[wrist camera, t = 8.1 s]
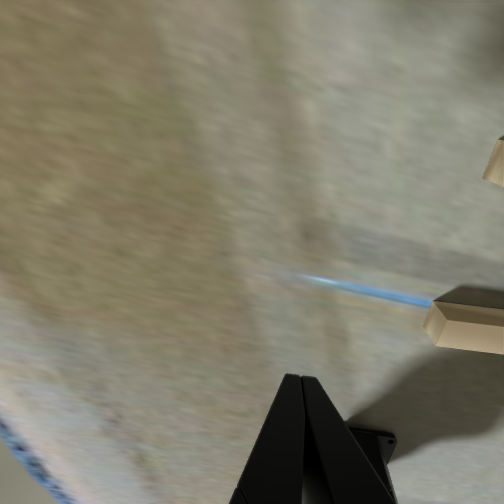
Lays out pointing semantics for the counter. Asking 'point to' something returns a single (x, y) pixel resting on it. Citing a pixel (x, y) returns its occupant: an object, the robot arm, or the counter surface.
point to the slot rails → (465, 316)
